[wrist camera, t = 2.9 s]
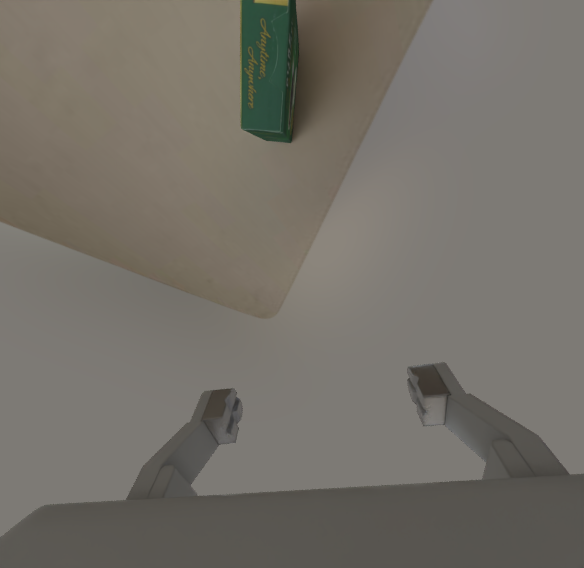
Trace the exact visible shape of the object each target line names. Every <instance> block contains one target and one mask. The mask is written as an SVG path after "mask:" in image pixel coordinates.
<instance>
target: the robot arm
mask: <svg viewBox="0 0 584 568" xmlns="http://www.w3.org/2000/svg"><path fill="white" fill-rule="evenodd" d="M407 373H408V375H409V379H408V380H407V381H408V389H409V393H410V396H411V398H412V401H413V402H414V403H415V404H416V405H417V412H418V415H419V417H420V419H421V422H422V424H423V426H434V425H445V426H446V427H447V428H448V429H449V430H450V431H451V432H453V433H454V434H455V435H456V436H457V437H458V438H459V439H460V440H461V441H463V442H464V443H465V444H466V445H467V446H468V447H469V448H471V449H472V450H473V451H474V452H475V453H476V454H477V455H478V456H480V457H481V458H482V459H483V460H484V461H485V462H486V466H485V470H484V474H483V478H482V480H469V481H451V482H434V483H417V484H402V485H401V484H399V485H382V486H364V487H346V488H329V489H312V490H295V491H277V492H259V493H243V494H226V495H207V496H197V493H196V492H195V491H194V489H193V488H192V487H191V486H190V485H191V484H192V482H193V481H194V479H195V478H196V477H197V475H198V474H199V473H200V471H201V470H202V468H203V467H204V466H205V464H206V463H207V461H208V460H209V459H210V457H211V456H212V454H213V453H214V452H215V450H216V449H217V447H218V445H220V444H229V443H236V439H237V434H238V430H239V428H238V426H237V424H238V422H239V421H240V420H241V417H242V403H241V401H240V399H239V398H237V397H236V394H237V392H236V390H235V389H234V388H231V389H220V390H210V391H204V392H203V393H202V395H201V397H200V400H199V402H198V404H197V407H196V409H195V412H194V414H193V416H192V419H191V421H190V422H189V423H187V424H185V425H184V426H183V427H182V428H181V429H180V430H179V431H178V432H177V433H176V434H175V435H174V436H173V437H172V438H171V439H170V440H169V441H168V442H167V443H166V444H165V445H164V446H163V447H162V448H161V449H160V450H159V451H158V452H157V453H156V454H155V455H154V456H153V457H152V458H151V459H150V460H149V461H148V462H147V463H146V464H145V465H144V466H143V467H142V469H141V471H140V473H139V475H138V477H137V479H136V481H135V483H134V485H133V487H132V489H131V491H130V493H129V495H128V497H127V499H126V500H121V501H102V502H84V503H67V504H50V505H44V506H42V507H40V508H38V509H36V510H35V511H33V512H32V513H31V514H29V515H28V516H27V517H25V518H24V519H23V520H21V521H20V522H19V523H18V524H16V525H15V526H14V527H13V528H11V529H10V530H9V531H8V532H6V533H5V534H4V535H3V536H1V537H0V568H584V474H573V475H570V474H569V473H568V472H567V470H566V469H565V468H564V467H563V465H562V464H561V463H560V462H559V460H558V459H557V458H556V457H555V455H554V454H553V453H552V452H551V450H550V449H549V448H548V447H547V445H546V444H545V443H544V442H543V440H542V439H541V438H540V437H539V436H538V435H537V434H535V433H533V432H532V431H530V430H529V429H527V428H525V427H523V426H522V425H520V424H519V423H517V422H515V421H514V420H512V419H511V418H509V417H507V416H506V415H504V414H503V413H501V412H499V411H498V410H496V409H494V408H493V407H491V406H489V405H488V404H486V403H485V402H483V401H481V400H480V399H478V398H476V397H475V396H473V395H471V394H466V393H465V391H464V390H463V388H462V387H461V386H460V384H459V382H458V381H457V379H456V378H455V376H454V375H453V373H452V372H451V370H450V369H449V367H448V366H447V364H446V363H444V362H441V363H434V364H424V365H417V366H410V367H408V368H407Z"/></svg>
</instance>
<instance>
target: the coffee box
mask: <svg viewBox="0 0 584 568" xmlns="http://www.w3.org/2000/svg"><path fill="white" fill-rule="evenodd" d="M298 55H299V43H298V26H297V14H296V0H240V110H241V129H243V130H245V131H247V132H249V133H251V134H253V135H255V136H257V137H260V138H262V139H264V140H266V141H276V142H285V143H291V141H292V130H293V118H294V105H295V93H296V81H297V68H298Z"/></svg>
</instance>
